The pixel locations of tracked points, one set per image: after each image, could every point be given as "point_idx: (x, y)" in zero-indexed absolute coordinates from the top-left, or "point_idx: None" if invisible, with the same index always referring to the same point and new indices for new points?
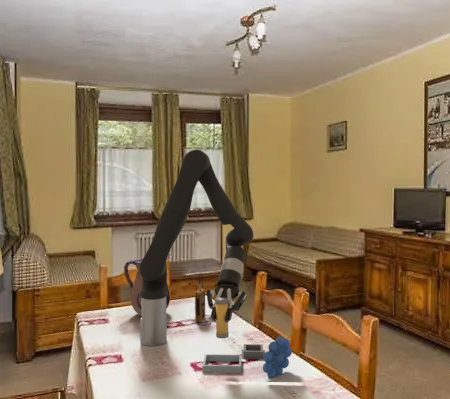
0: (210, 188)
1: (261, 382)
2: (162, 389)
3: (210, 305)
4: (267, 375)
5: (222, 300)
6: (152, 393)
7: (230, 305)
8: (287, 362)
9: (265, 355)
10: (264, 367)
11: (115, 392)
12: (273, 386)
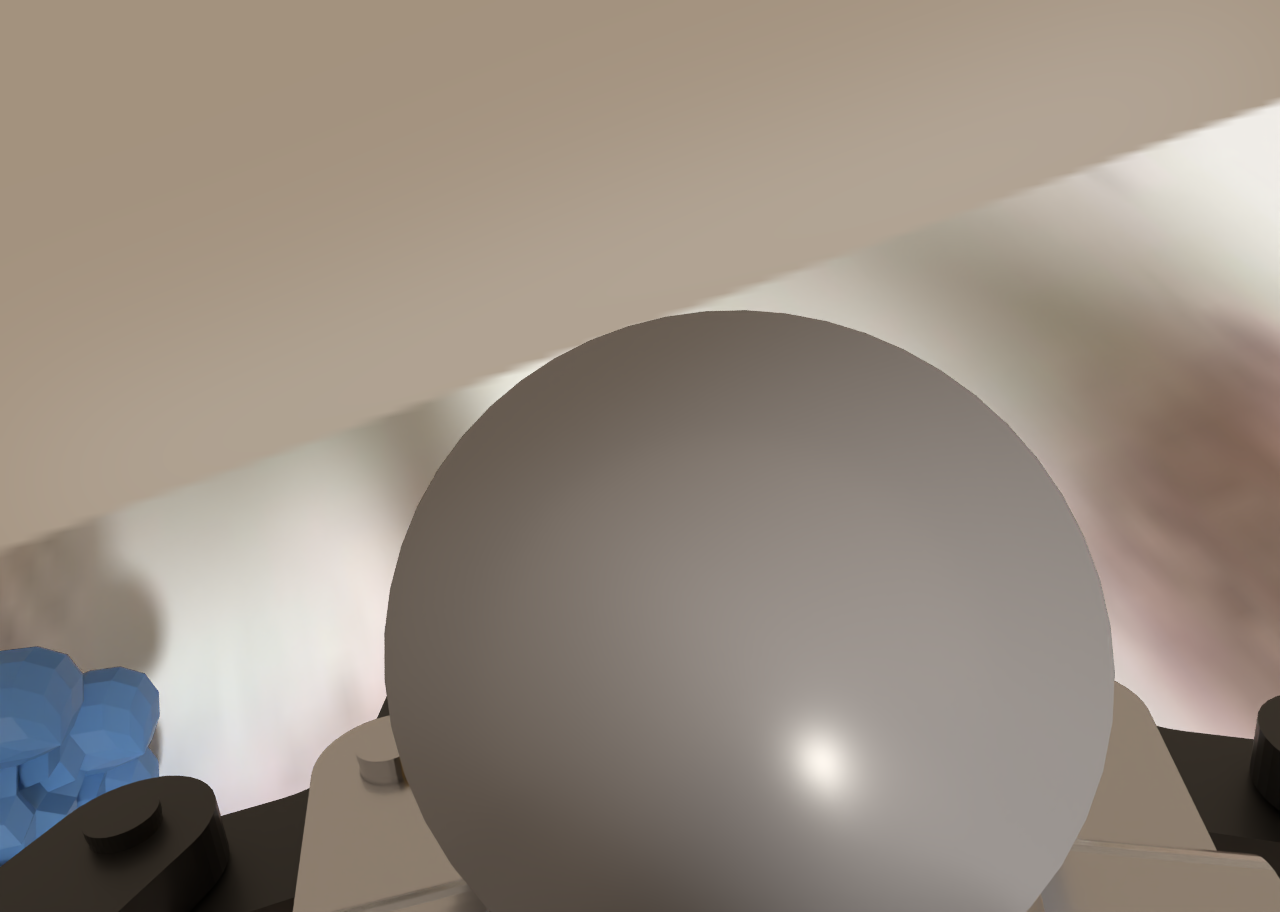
0: None
1: (232, 680)
2: (992, 275)
3: (1261, 744)
4: (156, 759)
5: (581, 368)
6: (1018, 207)
7: (367, 795)
8: None
9: (21, 652)
10: (122, 668)
11: (1272, 131)
12: (116, 644)
